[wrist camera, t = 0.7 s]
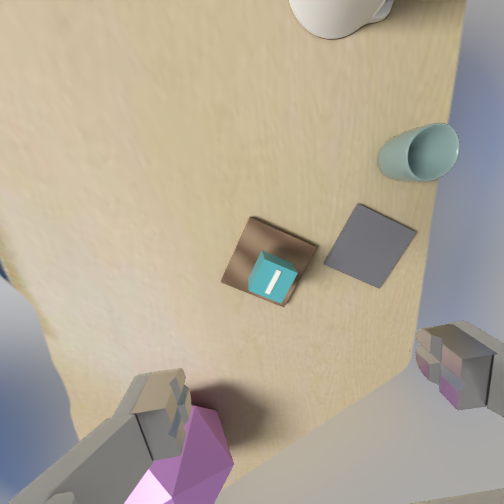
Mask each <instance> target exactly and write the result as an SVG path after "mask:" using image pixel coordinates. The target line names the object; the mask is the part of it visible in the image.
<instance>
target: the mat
mask: <svg viewBox="0 0 504 504" xmlns="http://www.w3.org/2000/svg"><path fill="white" fill-rule="evenodd" d="M415 234H416V232H414V231H412V230H410V229H408V228H406V227H404V226H402V225H400V224H398V223H396V222H394V221H392V220H390V219H388V218H386V217H384V216H382V215H380V214H378V213H376V212H374V211H372V210H370V209H368V208H366V207H364V206H362V205H360V204H357V205H356V207H355V209H354V210H353V212H352V214H351V216H350V217H349V219H348V221H347V223H346V225H345V226H344V228H343V230H342V232H341V233H340V235H339V237H338V239H337V240H336V242H335V244H334V246H333V248H332V249H331V251H330V253H329V255H328V256H327V258H326V260H325V262H324V264H325V265H327V266H329V267H331V268H334V269H336V270H338V271H340V272H343V273H345V274H347V275H349V276H352V277H354V278H356V279H359V280H361V281H363V282H365V283H368V284H370V285H372V286H374V287H377V288H379V289H380V287H381V286H382V284H383V283H384V281H385V280H386V278H387V277H388V275H389V274H390V272H391V270H392V269H393V267H394V266H395V264H396V263H397V261H398V260H399V258H400V257H401V255H402V254H403V252H404V251H405V249H406V247H407V246H408V244H409V243H410V241H411V240H412V238H413V237H414V235H415Z"/></svg>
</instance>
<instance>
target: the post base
mask: <svg viewBox="0 0 504 504" xmlns="http://www.w3.org/2000/svg"><path fill="white" fill-rule="evenodd" d="M316 248H317V247H316V246H314V245H312V244H310V243H308V242H306V241H303V240H301V239H299V238H297V237H294V236H292V235H290V234H288V233H286V232H283V231H281V230H279V229H277V228H274V227H272V226H270V225H268V224H266V223H263V222H261V221H259V220H257V219H254V218H252V217H250V218H249V220H248V222H247V224H246V227H245V229H244V231H243V233H242V235H241V238H240V240H239V242H238V244H237V246H236V249H235V251H234V253H233V255H232V257H231V260H230V262H229V264H228V266H227V269H226V271H225V273H224V275H223V277H222V280H221V282H222V283H224V284H227V285H229V286H232V287H234V288H237V289H239V290H242V291H244V292H247V293H249V294H252V295H254V296H257V297H259V298H262V299H264V300H267V301H269V302H272V303H274V304H277V305H280V306H282V307H284V306H285V305H286V303H287V301H288V299H289V297H290V295H291V294H292V292H293V290H294V288H295V286H296V285H297V283H298V281H299V279H300V277H301V275H302V274H303V272H304V270H305V268H306V266H307V264H308V263H309V261H310V259H311V257H312V255H313V253H314V252H315V250H316ZM262 250H263V251H265V252H268V253H270V254H272V255H275V256H277V257H279V258H282V259H284V260H286V261H289V262H291V263H292V264H293V266H294V268H295V269H296V271H297V273H298V274H297V275H296V277H295V279H294V281H293V283H292V285H291V287H290V288H289V290H288V292H287V294H286V296H285V298H284V299H283V301H282V303H278V302H276V301H273V300H271V299H268V298H266V297H263V296H261V295H258V294H256V293H253V292H251V291H249V287H248V278H249V276H250V274H251V272H252V270H253V267H254V265H255V263H256V261H257V259H258V257H259V255H260V253H261V251H262Z"/></svg>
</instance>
